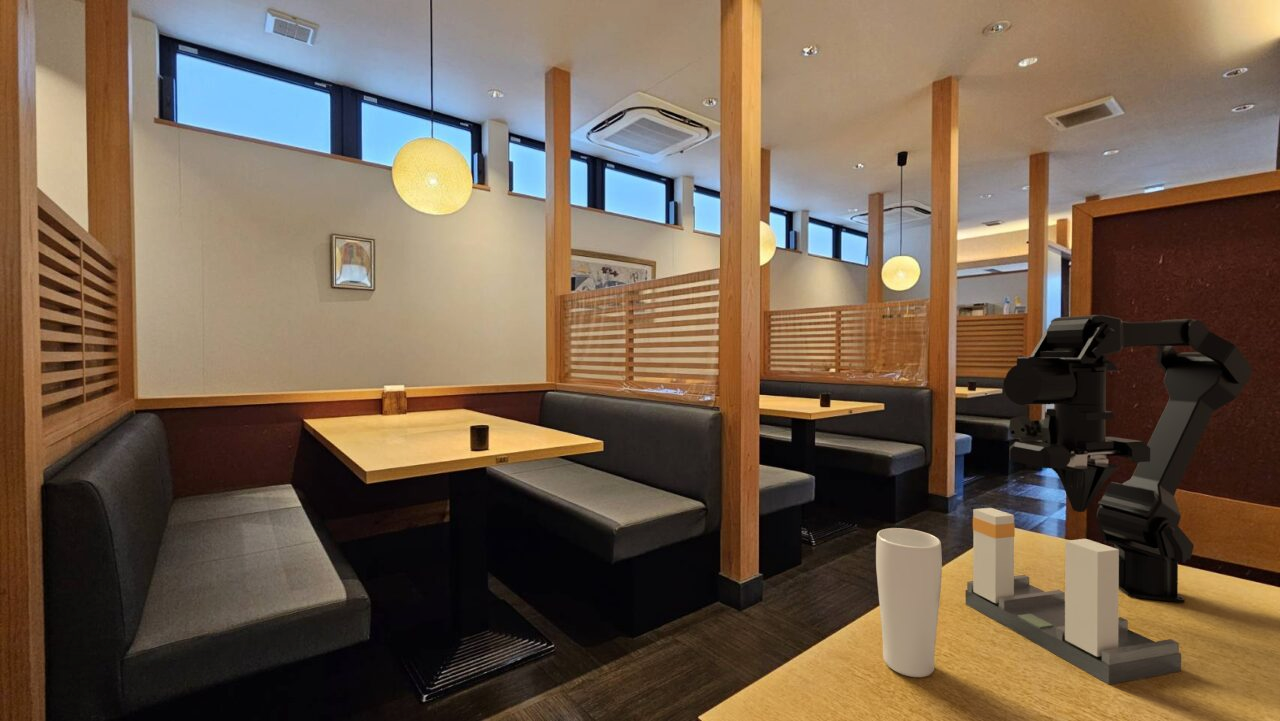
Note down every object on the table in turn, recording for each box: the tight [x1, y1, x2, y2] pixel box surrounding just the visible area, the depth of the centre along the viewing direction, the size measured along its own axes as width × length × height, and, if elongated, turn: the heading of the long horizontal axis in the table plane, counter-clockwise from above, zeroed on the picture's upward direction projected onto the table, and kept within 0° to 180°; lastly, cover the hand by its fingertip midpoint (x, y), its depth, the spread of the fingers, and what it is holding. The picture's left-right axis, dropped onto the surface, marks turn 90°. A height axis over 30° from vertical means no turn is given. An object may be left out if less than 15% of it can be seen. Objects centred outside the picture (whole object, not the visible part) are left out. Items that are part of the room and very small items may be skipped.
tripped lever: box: [972, 507, 1016, 603], centre depth 74 cm, size 3×4×12 cm
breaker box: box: [965, 574, 1182, 685], centre depth 69 cm, size 10×19×3 cm, turn 13°
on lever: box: [1064, 538, 1120, 657], centre depth 62 cm, size 3×4×12 cm
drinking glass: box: [875, 527, 943, 678], centre depth 62 cm, size 7×7×15 cm
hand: (1078, 511), depth 77 cm, fingers closed
